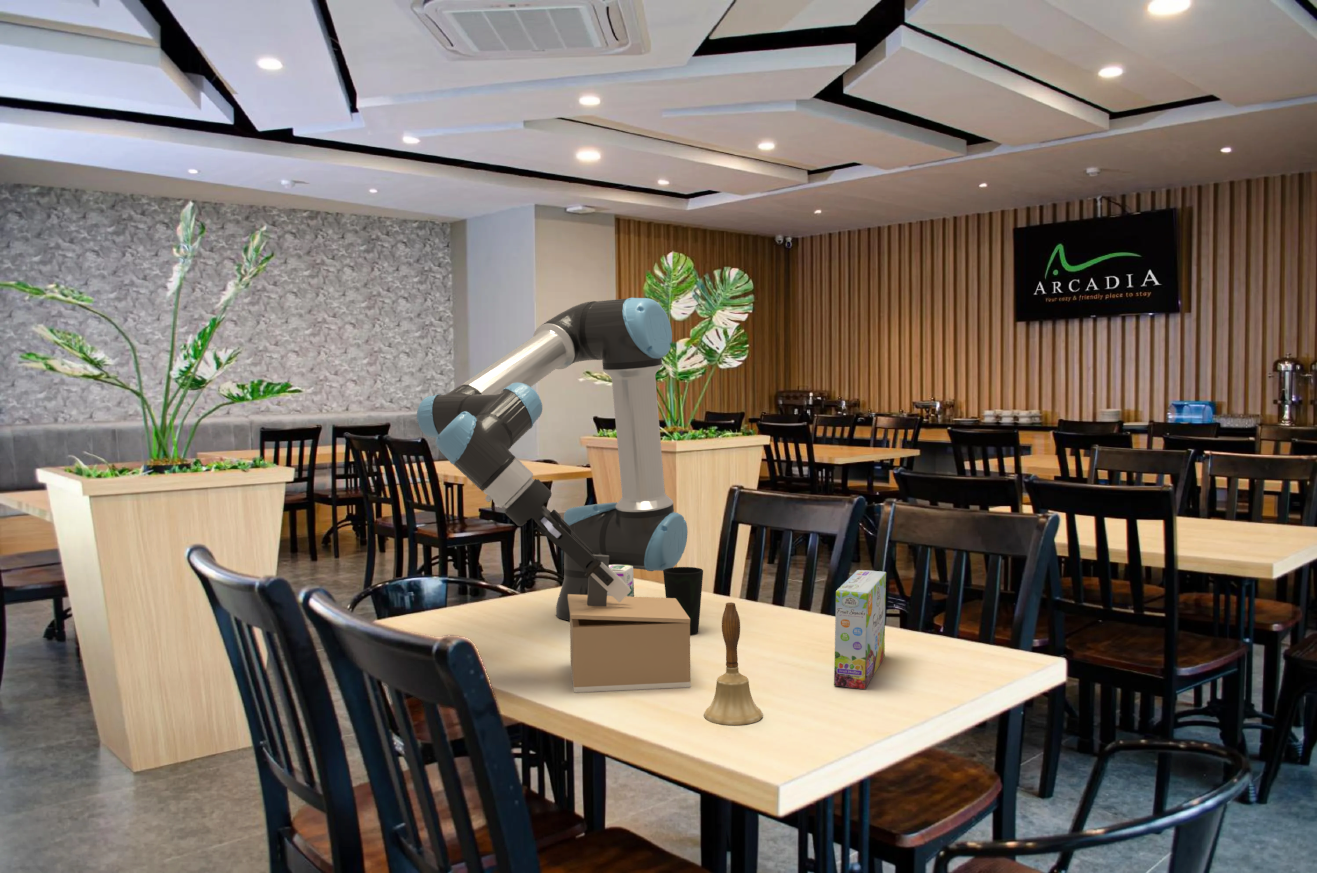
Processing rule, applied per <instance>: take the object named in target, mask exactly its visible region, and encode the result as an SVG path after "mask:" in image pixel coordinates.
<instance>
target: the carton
mask: <svg viewBox="0 0 1317 873" xmlns="http://www.w3.org/2000/svg"><path fill="white" fill-rule="evenodd" d="M569 639H570V640H569V642H570V643H569V646H570V650H569V651H570V670H571V679H572V685H573V687H572V688H573V693H588V692H589V693H591V692H593V693H595V692H612V691H614V692H615V691H617V692H618V691H636V690H637V691H638V690H654V689H656V690H657V689H658V690H659V689H660V690H661V689H676V688H677V689H678V688H682V689H683V688H691V686H692V684H691V635H690V623H678V622H649V621H621V620H592V619H571V618H570V621H569Z"/></svg>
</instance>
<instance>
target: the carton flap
mask: <svg viewBox="0 0 1317 873" xmlns="http://www.w3.org/2000/svg"><path fill="white" fill-rule="evenodd" d="M593 555H594V554H593ZM594 556H595V557H596V558H597V559H599V560H600V562H603V563H604V564H605V565H606V566H607V567H608V568H609V555H594ZM568 604H569V611H570V618H571V619H592V620H621V621H649V622H678V623H690V618H689V616H688V615H687V614H686V612H685V611H684V609H683V608H682V607H681V605H680V604H679V602H678V601H677V599H676V598H666V597H655V596H653V597H647V596H634V597H628V596H625V598H624V599H623V600H622V601H621V602H620V603H619V602H618V601H617V600H616V599H615V598H614V597H613V596H607V590H606V589H605V588H603V587H602V586H601V585H600V584H599V583H598V582H597V581H596V580H595V579H594V578H593V577H592V576H591V575H590V576H589V580H588V595H575V594H568Z"/></svg>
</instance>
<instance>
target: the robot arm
mask: <svg viewBox="0 0 1317 873" xmlns="http://www.w3.org/2000/svg"><path fill="white" fill-rule="evenodd" d="M671 326H672V325H671V322H670V319H669V316H668V314H667V313H666V311H665V309H664V308H662V305H661V304H660V303H658V301H656V300H654V299H652V298H648V297H647V298H646V297H629V298H621V299H620V298H619V299H608V300H598V301H595V300H593V301H586V302H582V303H580V304H577V305H575V306H572V307H570V308H568V309H566V310H564V311H562V312H560V313H559V314H556V316H554V317H552V318H551V319H548V320H546V321H545V322H544V323H542V324H541V325H539V326H538V327H537V328H536V329H535V331H534V333H533V336H532V337H531V338H530V339H528V340H526V341H525V342H523V343H522V344H521V345H519V346H518V347H516V348H514V349H513V350H511V351H510V352H508V353H507V354H505V355H504V356H502V357H501V358H499V359H498V360H496V361H495V362H493V363H492V364H491V365H489V366H488V367H486V368H484V369H483V370H481V371H480V372H478V373H477V374H475V375H473V376H472V377H471V378H469V379H468V380H466V381H465V382H464V383H462V384H460V385H459V386H457V387H456V388H454V389H453V390H451V391H450V392H448V393H446V394H441V393H437V394H435V395H428V396H427V397H425V398H423V399H422V400H421V401H420V403H419V405H418V407H417V412H416V420H417V424H418V427H419V429H420V431H421V432H422V433H423V434H424V435H425V436H426V437H429V438H433V439H435V441H434V442H435V446H436V448H437V449H438V450H439V451H440V452H441V454H442V455H443V456H444V457H445V458H446V459H447V460H448V461H449V463H450V464H451V465H453V466H454V467H455V468H456V469H458V471H459V472H461V473H462V474H463V475H464V476H465V477H466V478H467V479H468V480H469V481H470V482H471V483H473V484H474V485H475V486H476V488H478V489H479V490H481V492H483V493H484V495H486V496H485V498H484V500H485V501H486V502H487V503H490V502H491V501H493V503H494V504H495V505H496V506H497V507H498V508H501V509H503V508H505V509H504V513H505V515H506V516H507V517H508V518H509V519H510V520H511V521H512V522H513V523H514V524H516V525H517V527H522V526H524V525H526V523H528V522H529V521H530V520H531V519H532V520H533V521H534V522H535V523H536V524H537V526H536V530H537V531H538V533H540V534H541V535H542V536H544V537H547V539H548V540H550V542H552V544H554V545H555V546H557V547H559V548H560V549H561V550H562V551H563V564H564V565H563V570H564V573H563V574H564V575H563V578H564V579H563V581H562V584H561V588H560V591H559V595H558V598H557V602H556V605H555V606H556V607H555V611H556V612H555V613H556V617H557V618H559V619H561V620H564V621H569V622H570V611H569V604H568V594H575V595H588V580H589V576H590V575H591V576H592V577H593V578H594V579H595V580H596V581H597V582H598V583H599V584H600V585H601V586H602V587H603V588H605V589H606V590H607V591H608V592H609V593H610V594H611V595H612V596H613V597H614V598H615V599H616V600H617V601H618V602H619V603H620V602H621V601H622V600H623V599H624V598H625V596H626V595H627V594H628V593H629V592H630V591H631V589H630V587H629V586H628V585H627V584H626V583H625V582H624V581H623V580H622V579H621V578H620V577H619V576H618V575H617V574H616V573H615V572H614V571H612V570H611V569H610V568H608V567H607V566H606V565H605V564H604V563H603V562H600V560H599V559H597V558H596V557H595V556H594V555H609V565H617V564H620V565H631V566H633V570H634V569H635V570H642V571H643V570H644V571H648V572H654V571H657V572H659V571H662V572H663V570H665V569H667V568H673V567H675V566H677V564H678V563H679V562H680V560H681V558H682V556H683V554H684V553H685V549H686V546H687V543H688V542H687V541H688V524H687V521H686V520H685V517H684V516H683V515H682V514H680V513H679V512H675V508H674V500H673V499H672V498H671V497H669V496H668V495H667V493H666V492H665V491H666V489H665V478H664V464H663V455H662V441H661V428H660V419H659V418H660V417H659V406H658V394H657V393H658V392H657V380H656V375H657V372H658V371H659V370H660V369H661V368H662V367H663V362H662V360H663V358H664V357H665V356H667V354H668V353H669V352H670V350H671V344H672V343H673V342H672V341H673V331H672V327H671ZM583 361H601V362H602V370H603V372H604V373H606V374H607V375H608V376H609V377H610V378H611V385H612V395H613V396H612V397H613V398H612V399H613V408H614V417H615V418H614V419H615V420H614V421H615V431H616V440H617V441H616V443H617V444H616V445H617V453H618V463H619V475H620V488H621V498H620V500H618V502H603V503H595V504H587V505H582V506H581V505H580V506H574V507H570V508H567V510H565V511H564V514H563V518H562V516H561V515H560V513H559V512H558V511H556V510H555V509H553V510H552V511H550V510H549V509H548V508H547V507H546V506H545V504H546V503H547V502H549V500H550V499H551V497H552V491H551V490H550V489H549V488H548V487H547V486H546V485H545V483H543V482H542V481H541V480H540V479H537V478H535V479H533V477H534V473H533V472H532V471H531V470H530V469H529V468H528V467H527V466H526V465H524V463H523V462H522V461H521V460H519V458H517V457H516V456H515V455H514V454H513V452H511V451H510V449H511V448H512V447H513V445H514V444H515V443H517V442H518V441H519V440H520V439H521V438H522V437H523V436H524V435H525V434H526V433H527V432H528V431H529V430H531V429H532V428H533V427H534V424H535V422H536V421H537V420H538V419H539V418H540V417H541V415H542V414H543V403H542V400H541V398H540V395H539V394H538V392H537V391H536V390H535V389H534V388H533V386H534V385H536V384H537V383H538V382H540V381H542V379H544V378H546V377H547V376H548V375H549V374H551V373H553V372H554V371H555V370H564V369H566V368H569V367H570V366H571V365H573V364H575V363H579V362H583ZM593 554H594V555H593Z"/></svg>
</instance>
